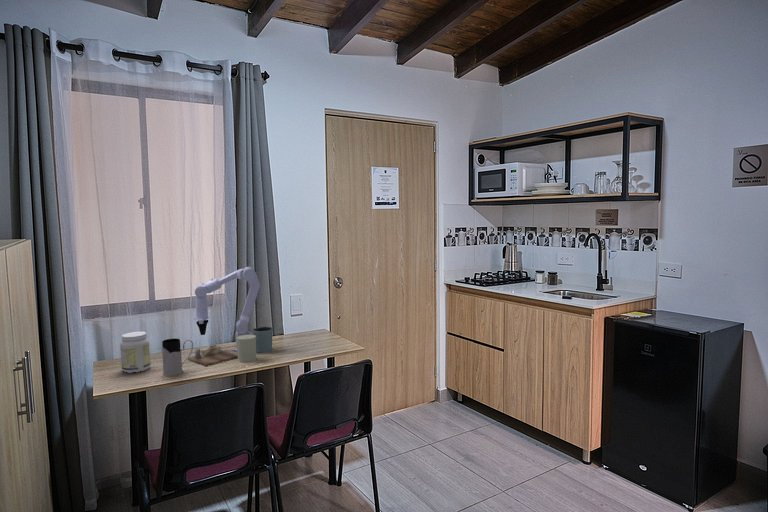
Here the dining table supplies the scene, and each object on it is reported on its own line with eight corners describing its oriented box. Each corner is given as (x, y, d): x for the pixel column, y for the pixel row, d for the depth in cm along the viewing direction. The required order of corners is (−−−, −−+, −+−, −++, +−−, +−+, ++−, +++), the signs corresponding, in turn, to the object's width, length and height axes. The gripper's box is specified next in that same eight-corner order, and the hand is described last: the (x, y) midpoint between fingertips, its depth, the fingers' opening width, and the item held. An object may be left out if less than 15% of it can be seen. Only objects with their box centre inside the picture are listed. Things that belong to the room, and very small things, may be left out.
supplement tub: (143, 363, 239) (141, 329, 238) (155, 368, 231) (153, 333, 230) (117, 370, 230) (114, 334, 228) (128, 375, 222) (126, 338, 220)
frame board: (220, 351, 258) (220, 342, 257) (238, 357, 247) (238, 347, 246) (187, 360, 244) (187, 349, 244) (205, 366, 233) (205, 355, 233)
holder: (159, 372, 225) (157, 340, 223) (190, 365, 235) (188, 335, 233) (166, 377, 218) (164, 344, 217) (198, 369, 228) (196, 338, 227)
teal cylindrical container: (276, 348, 262) (275, 326, 261) (269, 354, 252) (268, 331, 251) (257, 348, 263) (256, 326, 262) (250, 353, 253) (249, 331, 252)
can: (237, 363, 237) (236, 338, 236) (237, 358, 246) (236, 334, 245) (257, 361, 240) (256, 337, 239) (256, 356, 248) (255, 333, 247)
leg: (203, 356, 245) (203, 350, 245) (201, 355, 247) (201, 349, 246) (220, 351, 253) (220, 346, 253) (218, 351, 254) (218, 345, 254)
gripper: (195, 306, 259) (196, 332, 260) (192, 311, 245) (193, 338, 246) (209, 305, 261) (210, 331, 262) (206, 311, 247) (208, 337, 248)
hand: (203, 334), depth 254 cm, fingers closed
